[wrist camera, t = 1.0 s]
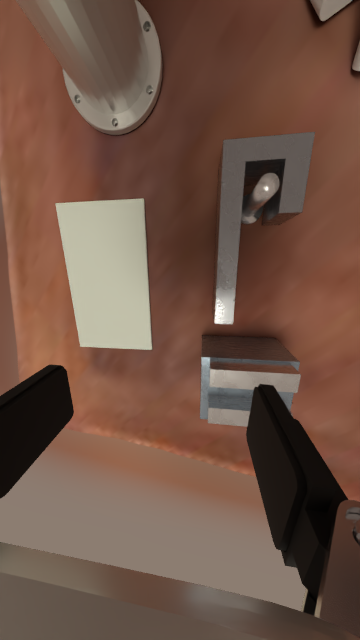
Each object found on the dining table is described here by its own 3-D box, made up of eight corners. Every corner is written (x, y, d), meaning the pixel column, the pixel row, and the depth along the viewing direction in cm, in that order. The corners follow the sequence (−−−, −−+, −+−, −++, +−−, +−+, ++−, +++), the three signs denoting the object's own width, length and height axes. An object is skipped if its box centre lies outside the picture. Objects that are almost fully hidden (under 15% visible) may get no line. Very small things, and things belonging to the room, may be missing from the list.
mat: (57, 204, 28) (55, 203, 28) (144, 199, 26) (143, 198, 26) (81, 345, 35) (80, 346, 34) (152, 348, 33) (151, 349, 33)
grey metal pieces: (205, 197, 25) (208, 152, 16) (296, 193, 24) (362, 139, 14) (200, 390, 34) (199, 440, 24) (266, 395, 33) (293, 450, 23)
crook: (218, 170, 24) (223, 139, 19) (287, 165, 23) (314, 131, 18) (212, 313, 30) (214, 323, 24) (267, 314, 29) (283, 325, 23)
